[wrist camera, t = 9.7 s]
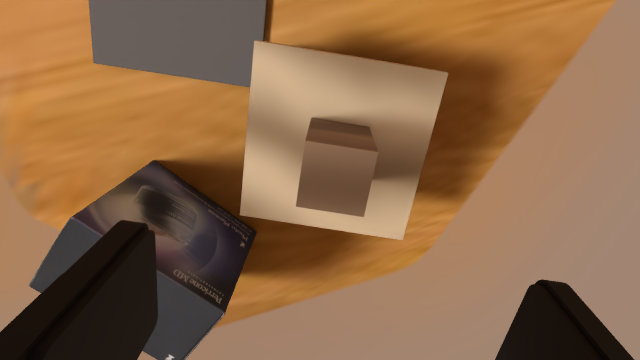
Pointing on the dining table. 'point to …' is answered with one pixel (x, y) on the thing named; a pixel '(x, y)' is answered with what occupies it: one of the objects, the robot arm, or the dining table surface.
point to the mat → (179, 36)
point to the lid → (336, 139)
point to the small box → (165, 253)
